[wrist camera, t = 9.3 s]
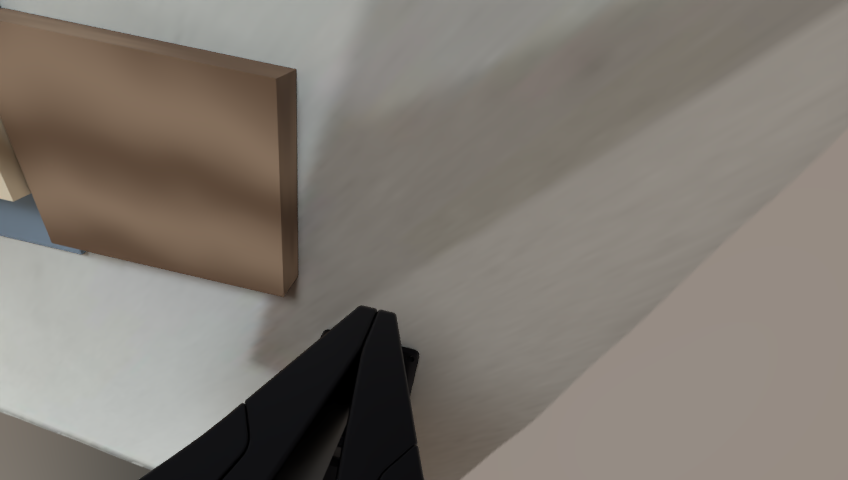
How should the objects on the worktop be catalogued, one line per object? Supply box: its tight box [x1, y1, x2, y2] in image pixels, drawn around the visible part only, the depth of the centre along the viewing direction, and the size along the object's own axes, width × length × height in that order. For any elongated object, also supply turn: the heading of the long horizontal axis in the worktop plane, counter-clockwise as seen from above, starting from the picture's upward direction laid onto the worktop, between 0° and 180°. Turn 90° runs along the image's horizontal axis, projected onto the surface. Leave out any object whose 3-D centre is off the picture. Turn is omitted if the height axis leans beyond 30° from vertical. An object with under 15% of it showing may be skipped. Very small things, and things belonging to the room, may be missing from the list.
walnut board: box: [0, 8, 298, 297], centre depth 21 cm, size 12×14×2 cm
